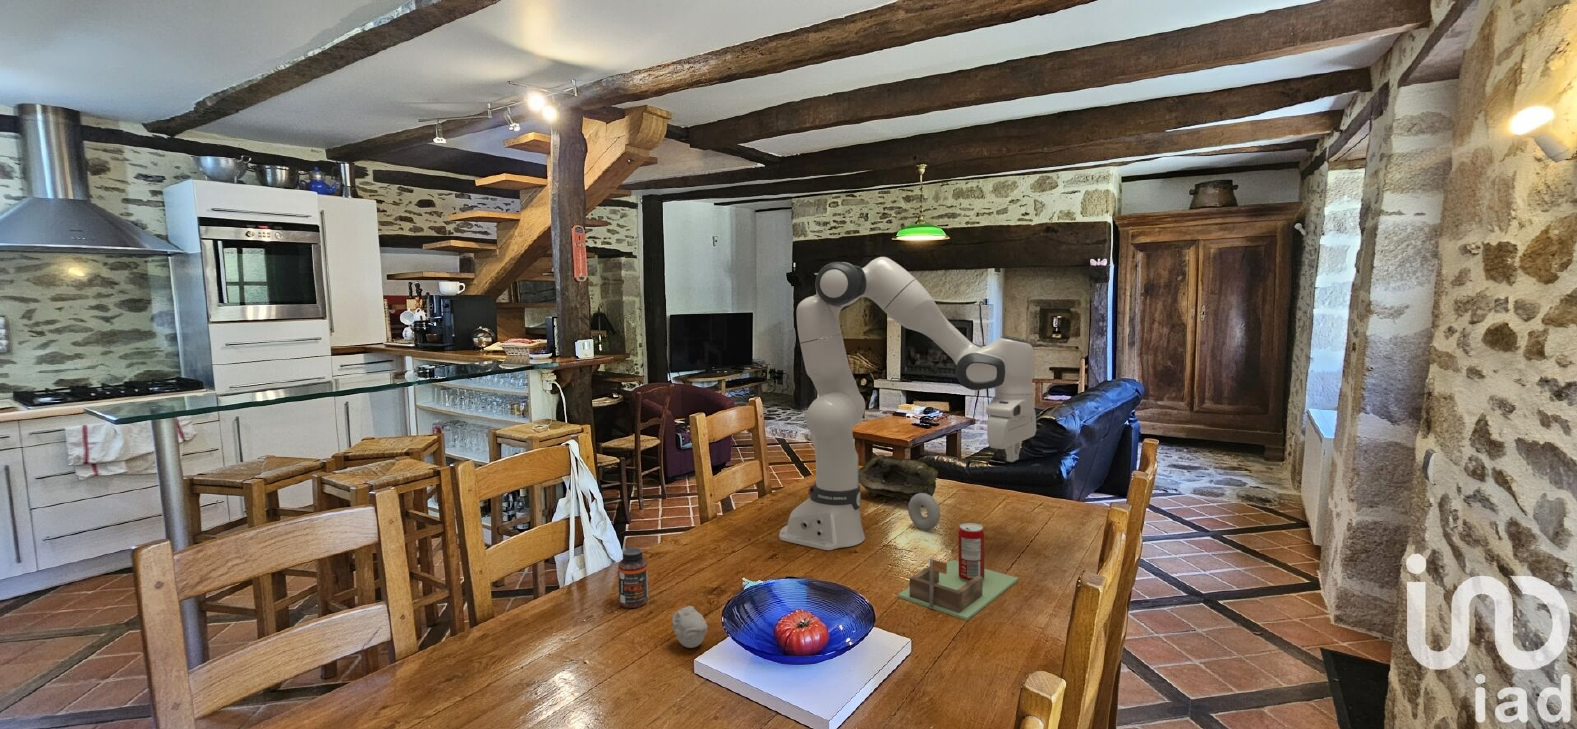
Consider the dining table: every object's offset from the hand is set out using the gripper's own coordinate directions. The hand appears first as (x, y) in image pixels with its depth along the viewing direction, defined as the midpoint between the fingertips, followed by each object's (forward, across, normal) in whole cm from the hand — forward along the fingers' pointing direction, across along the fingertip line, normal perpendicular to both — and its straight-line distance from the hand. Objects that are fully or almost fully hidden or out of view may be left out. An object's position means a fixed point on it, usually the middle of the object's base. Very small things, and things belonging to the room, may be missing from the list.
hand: (1012, 460), depth 163 cm
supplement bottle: (+23, +76, -49) cm, 94 cm away
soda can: (+23, +21, 0) cm, 31 cm away
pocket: (+22, +33, 0) cm, 40 cm away
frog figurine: (+23, +80, -26) cm, 87 cm away
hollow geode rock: (+23, -18, -43) cm, 52 cm away
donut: (+23, -1, -25) cm, 34 cm away
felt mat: (+23, +26, 0) cm, 35 cm away
